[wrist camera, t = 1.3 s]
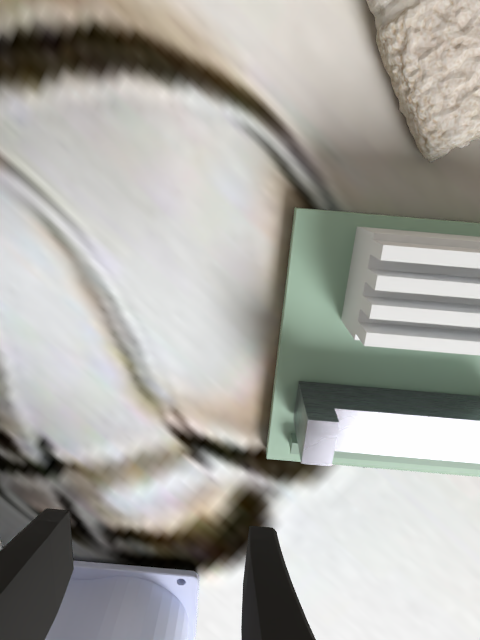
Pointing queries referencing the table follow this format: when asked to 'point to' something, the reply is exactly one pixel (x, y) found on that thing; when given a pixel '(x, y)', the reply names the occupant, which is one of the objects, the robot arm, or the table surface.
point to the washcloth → (433, 68)
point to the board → (377, 318)
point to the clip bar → (385, 423)
